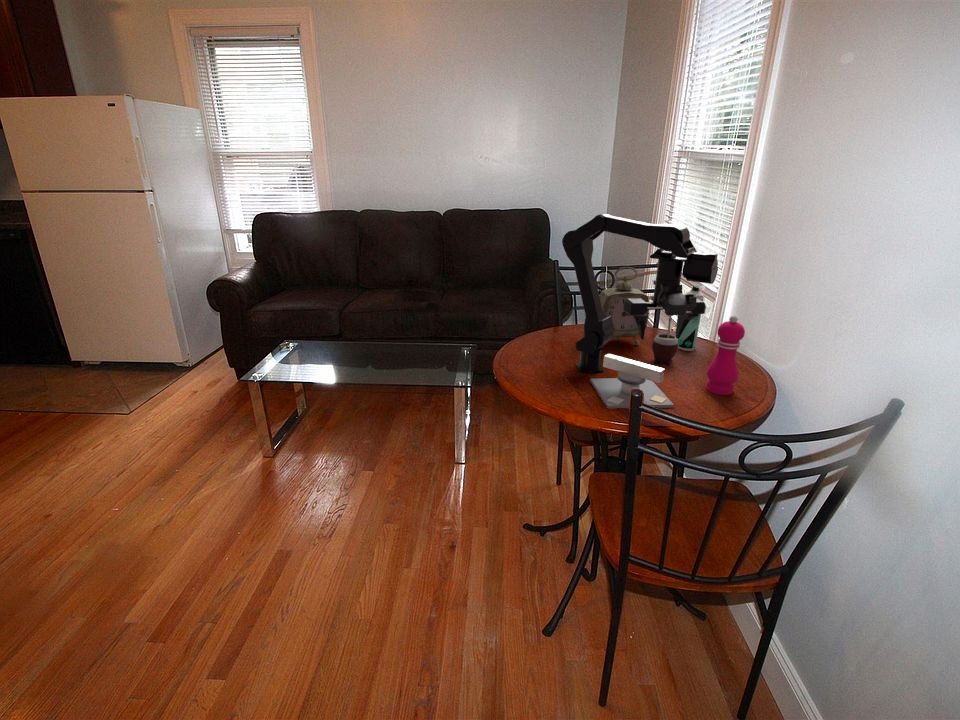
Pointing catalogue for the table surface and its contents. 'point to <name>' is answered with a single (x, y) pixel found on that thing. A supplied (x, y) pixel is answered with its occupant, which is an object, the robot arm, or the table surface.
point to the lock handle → (633, 370)
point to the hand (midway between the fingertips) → (659, 338)
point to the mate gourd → (665, 347)
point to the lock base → (615, 391)
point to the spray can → (691, 326)
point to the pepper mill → (725, 358)
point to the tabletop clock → (622, 307)
